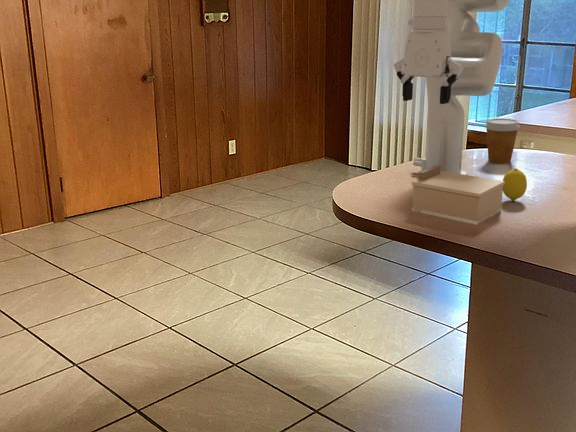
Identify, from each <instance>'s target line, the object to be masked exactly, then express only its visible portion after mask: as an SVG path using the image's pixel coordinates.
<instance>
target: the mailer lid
mask: <svg viewBox="0 0 576 432" xmlns="http://www.w3.org/2000/svg"><path fill="white" fill-rule="evenodd" d="M504 184H505V181H503V180H499V179H495V178H487V177H481V176H474V175H469V174H467V175H463V174H457V173H451V172H445V171H441V166H438V165H436V166H433V167H431V168H428V169H426V170H423V171H421V172H418V179H417V178H416V179H415V180H413V181H411V186H420V187H425V188H431V189H436V190H441V191H447V192H452V193H458V194H463V195H468V196H474V197H479V198H480V197H482V196H484V195H486V194H487V193H489V192H491V191H493V190H495V189H497V188H499V187H501V186H503V185H504Z"/></svg>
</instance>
